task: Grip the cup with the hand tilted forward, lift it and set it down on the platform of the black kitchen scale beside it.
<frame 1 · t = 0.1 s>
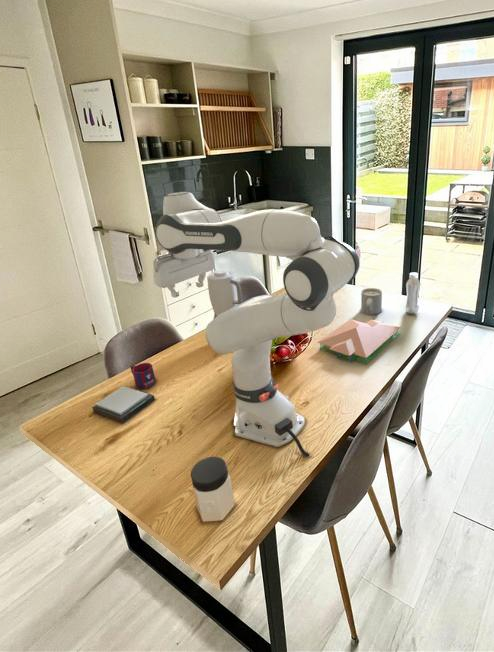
hand: (188, 291, 122), 39 cm above the table, tool pointing down, fingers open, 8 cm apart
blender: (232, 342, 173), on the table
jar: (216, 507, 96), on the table
house: (358, 343, 168), on the table
coffee mug: (369, 311, 197), on the table
cup: (143, 382, 146), on the table
scale: (124, 406, 133), on the table
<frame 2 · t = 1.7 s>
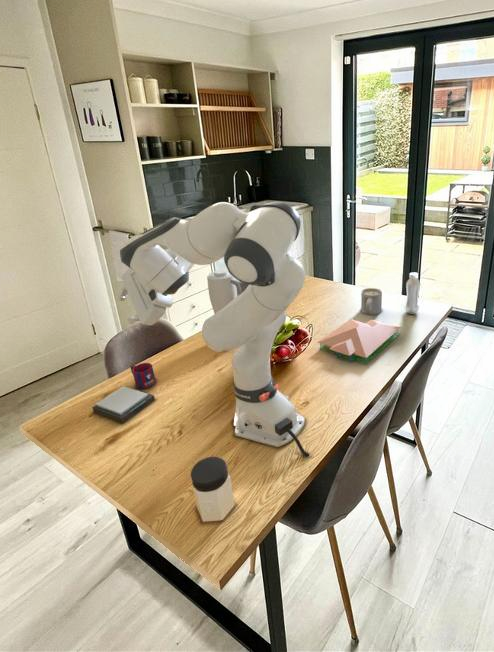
hand: (124, 310, 123), 34 cm above the table, tool tilted 50°, fingers open, 8 cm apart
nothing on the table moved.
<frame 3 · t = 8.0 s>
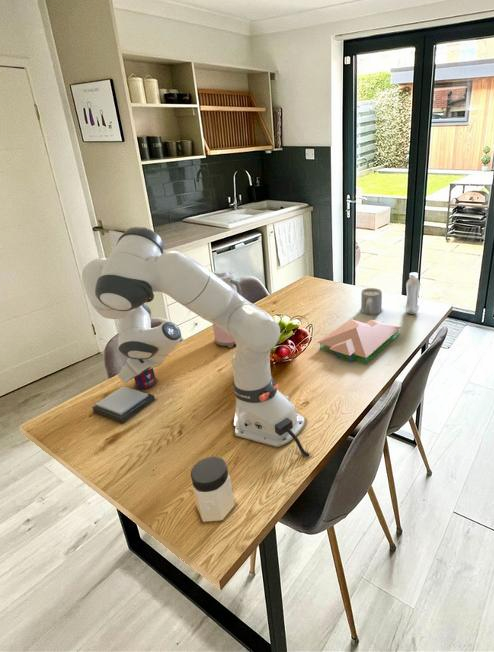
hand: (139, 371, 145), 4 cm above the table, tool tilted 45°, fingers closed on cup, 6 cm apart
cup: (143, 382, 146), on the table, touching gripper
everything else where it was.
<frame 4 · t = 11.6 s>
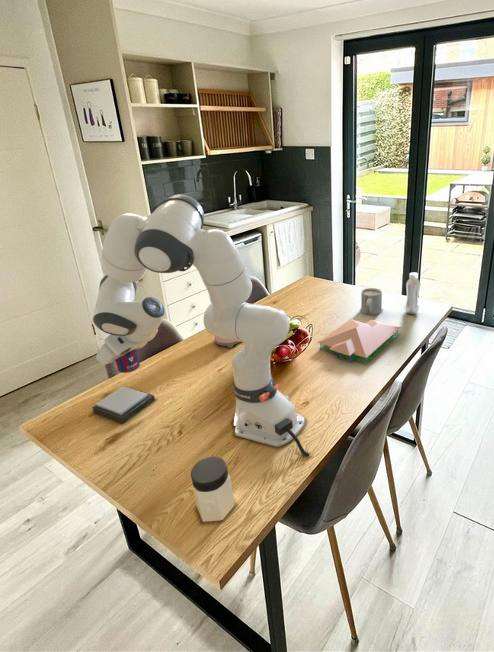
hand: (121, 354, 132), 16 cm above the table, tool tilted 45°, fingers closed on cup, 6 cm apart
cup: (126, 366, 134), point 12 cm above the table, touching gripper
everything else where it was.
when the fingers open (7 cm above the table, at t = 15.5 s): cup stays where it is, resting on scale.
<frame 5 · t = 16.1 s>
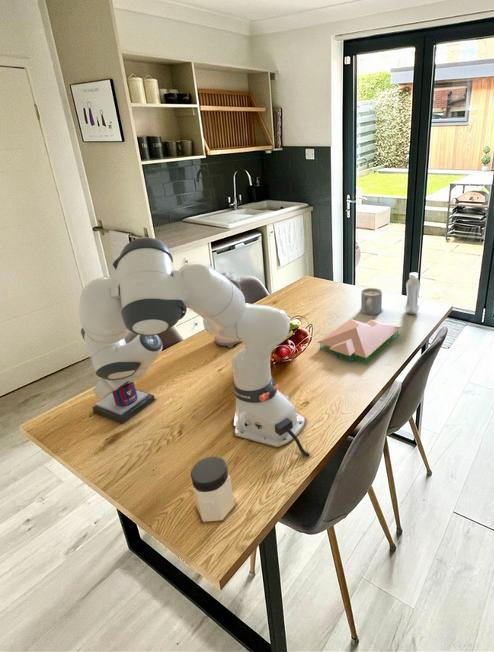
hand: (118, 385, 131), 8 cm above the table, tool tilted 45°, fingers open, 8 cm apart
cup: (124, 399, 133), point 3 cm above the table, touching scale
everything else where it was.
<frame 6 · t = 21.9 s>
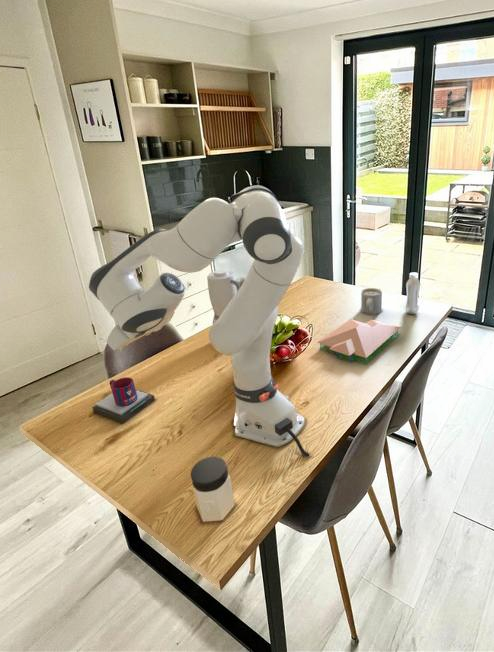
hand: (133, 340, 118), 27 cm above the table, tool tilted 45°, fingers open, 8 cm apart
nothing on the table moved.
at the end: cup inside the target area on the scale (0.5 cm from its centre), point 2.6 cm above the scale's base; cup tilted 0°; the gripper is holding nothing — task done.
